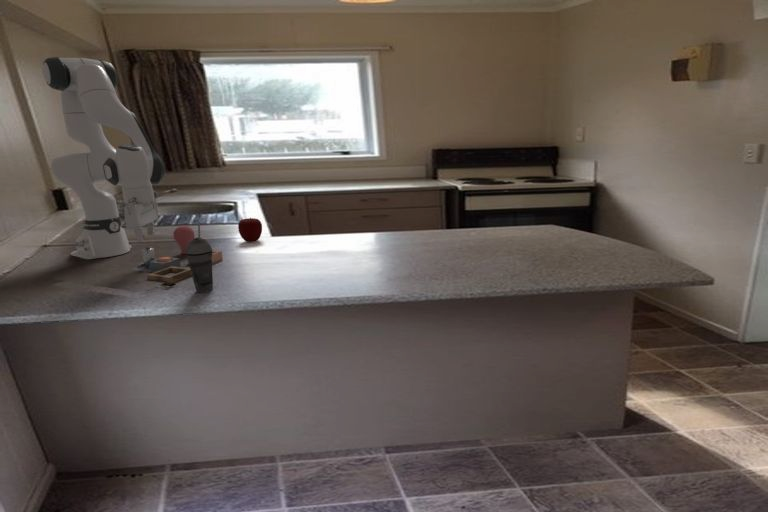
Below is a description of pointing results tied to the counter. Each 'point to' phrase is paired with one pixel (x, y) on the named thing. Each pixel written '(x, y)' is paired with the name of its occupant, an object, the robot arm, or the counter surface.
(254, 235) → the apple
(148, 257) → the cell
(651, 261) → the counter surface
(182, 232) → the light bulb
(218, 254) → the orange brown square block
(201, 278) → the beverage cup
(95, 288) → the counter surface
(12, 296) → the counter surface
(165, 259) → the test button
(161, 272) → the tray
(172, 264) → the cradle
